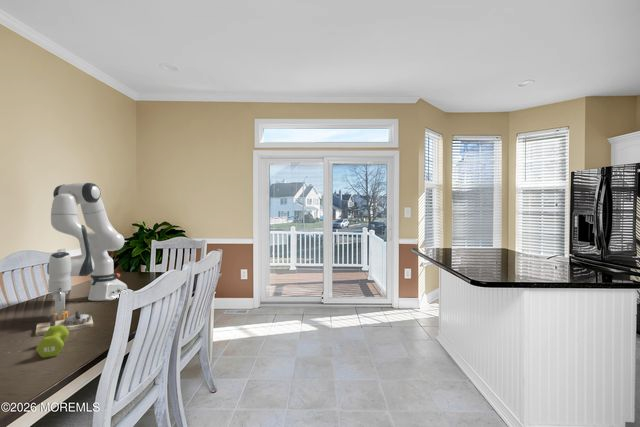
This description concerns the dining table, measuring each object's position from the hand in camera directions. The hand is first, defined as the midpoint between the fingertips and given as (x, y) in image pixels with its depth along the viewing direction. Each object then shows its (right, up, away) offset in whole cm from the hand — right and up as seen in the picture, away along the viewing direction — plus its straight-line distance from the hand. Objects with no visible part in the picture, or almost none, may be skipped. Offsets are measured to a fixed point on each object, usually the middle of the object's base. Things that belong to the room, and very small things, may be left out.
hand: (59, 315), depth 162 cm
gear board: (+10, -2, -10) cm, 14 cm away
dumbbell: (+24, -3, -34) cm, 41 cm away
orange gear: (0, -2, 0) cm, 2 cm away
